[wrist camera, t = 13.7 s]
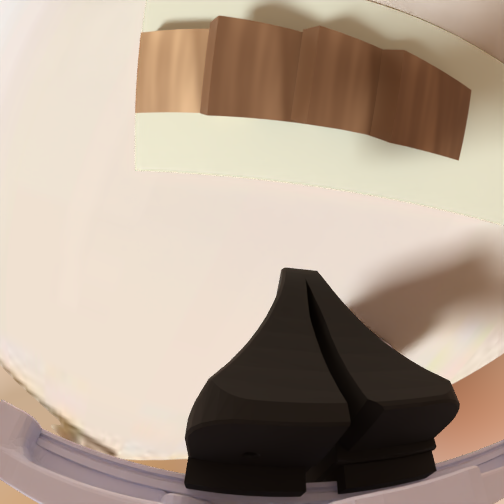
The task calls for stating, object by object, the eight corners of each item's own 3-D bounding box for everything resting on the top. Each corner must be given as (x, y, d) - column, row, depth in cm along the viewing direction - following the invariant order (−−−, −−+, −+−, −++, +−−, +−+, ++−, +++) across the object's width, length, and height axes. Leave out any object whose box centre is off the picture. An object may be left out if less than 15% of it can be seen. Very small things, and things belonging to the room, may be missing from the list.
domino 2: (344, 45, 13) (218, 15, 10) (333, 128, 15) (207, 115, 13) (328, 46, 14) (210, 22, 11) (317, 124, 16) (199, 113, 14)
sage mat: (534, 87, 12) (537, 88, 12) (505, 225, 19) (508, 227, 19) (151, -14, 12) (148, -15, 12) (137, 169, 19) (135, 170, 18)
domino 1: (266, 31, 12) (140, 32, 12) (257, 116, 15) (135, 112, 15) (266, 36, 14) (150, 36, 14) (258, 115, 16) (145, 111, 16)
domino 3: (418, 66, 13) (319, 25, 10) (405, 144, 15) (306, 123, 13) (399, 65, 14) (303, 29, 12) (388, 137, 16) (290, 119, 14)
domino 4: (471, 89, 13) (404, 49, 10) (458, 160, 15) (390, 142, 13) (452, 85, 14) (382, 49, 12) (441, 153, 16) (369, 135, 14)
